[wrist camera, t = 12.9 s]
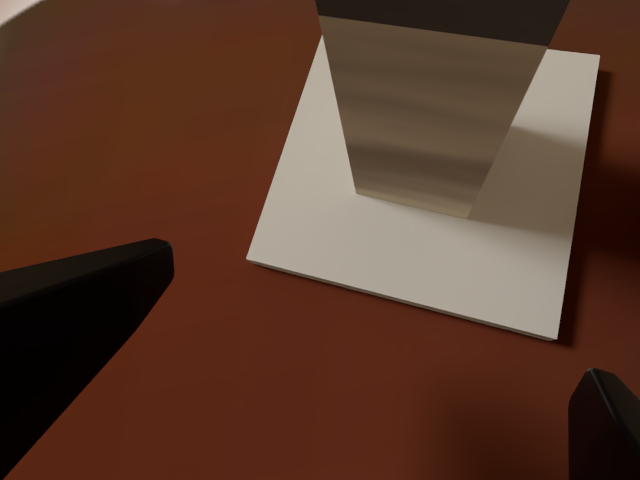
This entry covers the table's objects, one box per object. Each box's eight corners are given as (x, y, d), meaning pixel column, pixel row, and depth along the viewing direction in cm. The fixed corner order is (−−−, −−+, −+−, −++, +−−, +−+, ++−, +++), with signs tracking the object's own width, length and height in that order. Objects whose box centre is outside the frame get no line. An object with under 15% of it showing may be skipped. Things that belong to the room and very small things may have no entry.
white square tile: (549, 341, 16) (556, 339, 15) (252, 263, 19) (246, 259, 18) (591, 68, 19) (599, 55, 18) (328, 36, 22) (326, 23, 21)
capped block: (466, 219, 17) (633, -133, 5) (355, 193, 18) (284, -149, 6) (490, 120, 18) (676, -363, 6) (385, 101, 19) (370, -343, 7)
